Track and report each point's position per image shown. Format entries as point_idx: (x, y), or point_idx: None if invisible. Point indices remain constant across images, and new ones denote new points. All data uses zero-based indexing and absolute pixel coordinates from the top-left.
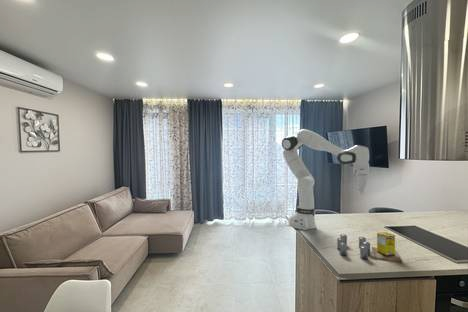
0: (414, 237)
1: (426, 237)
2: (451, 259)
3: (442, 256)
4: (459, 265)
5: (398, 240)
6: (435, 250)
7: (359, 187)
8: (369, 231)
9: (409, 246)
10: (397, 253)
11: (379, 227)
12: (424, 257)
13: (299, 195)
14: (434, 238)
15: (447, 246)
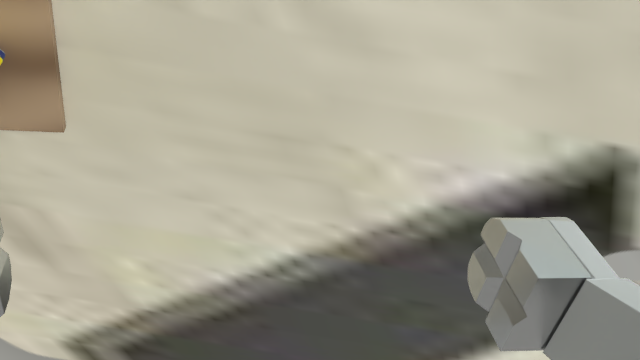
0: (415, 266)
1: (427, 312)
2: (109, 337)
3: (134, 316)
4: (38, 346)
5: (331, 180)
6: (218, 308)
7: (615, 305)
8: (508, 22)
9: (231, 215)
10: (3, 126)
11: (610, 116)
12: (63, 247)
13: None
14: (417, 337)
15: (305, 357)
